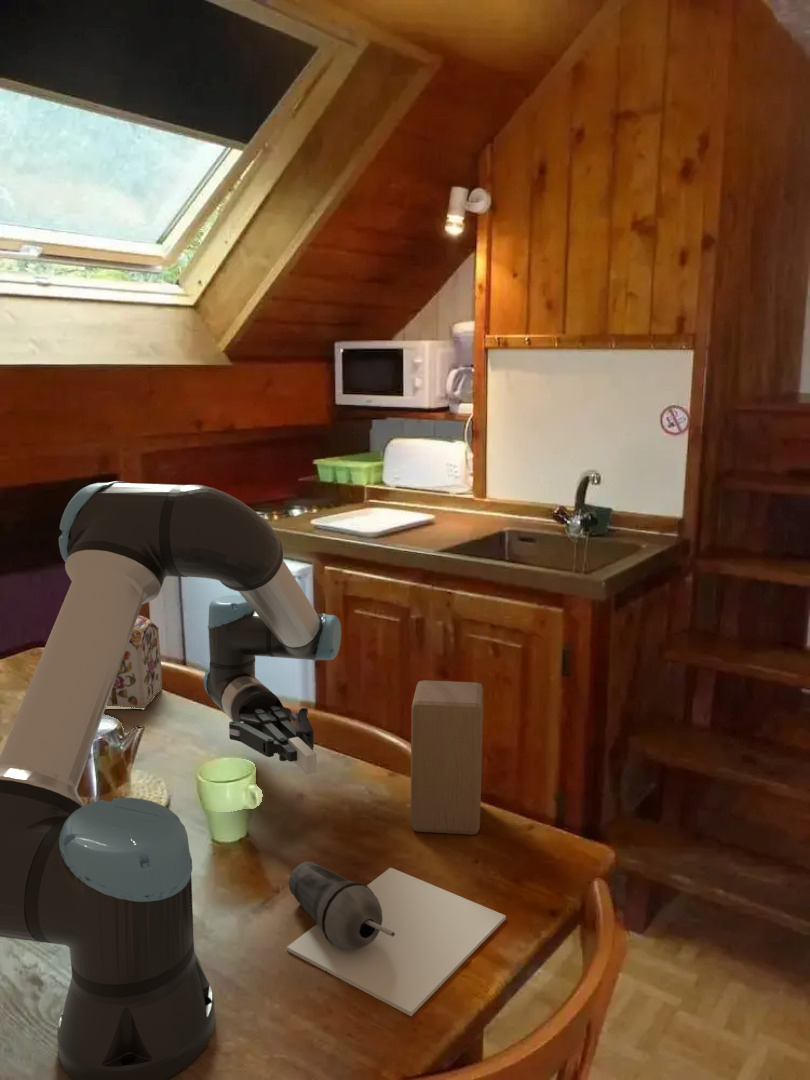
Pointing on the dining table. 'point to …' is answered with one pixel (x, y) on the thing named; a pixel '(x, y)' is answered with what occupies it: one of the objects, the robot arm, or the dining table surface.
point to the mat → (406, 942)
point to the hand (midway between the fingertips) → (311, 764)
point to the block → (446, 757)
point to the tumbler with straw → (338, 906)
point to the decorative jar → (139, 668)
